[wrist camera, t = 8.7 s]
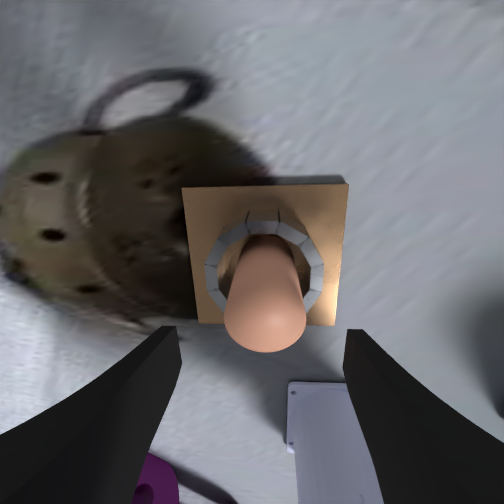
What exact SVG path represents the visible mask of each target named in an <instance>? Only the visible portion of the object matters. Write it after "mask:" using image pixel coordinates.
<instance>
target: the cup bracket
mask: <svg viewBox="0 0 504 504" xmlns="http://www.w3.org/2000/svg"><path fill="white" fill-rule="evenodd" d="M348 189H349V184H347V183H328V184H283V185H239V186H194V187H183V188H182V195H183V203H184V211H185V219H186V227H187V235H188V242H189V250H190V258H191V266H192V274H193V282H194V290H195V297H196V305H197V313H198V321H199V323H209V324H224V310H225V307H226V303H227V299H228V296H229V292H230V288H231V285H232V281H233V277H234V274H235V270H236V266H237V263H238V259H239V255H240V252H241V250H242V248H243V247H244V245H245V244H246V243H247V242H249V241H250V240H251V239H253V238H255V237H259V236H274V237H277V238H279V239H281V240H282V241H284V242H285V243H286V244H287V245H288V246H289V247H290V249H291V251H292V254H293V257H294V262H295V266H296V271H297V275H298V280H299V284H300V289H301V293H302V298H303V302H304V307H305V312H306V325H323V326H334V324H335V314H336V305H337V295H338V285H339V276H340V266H341V256H342V247H343V237H344V227H345V218H346V208H347V198H348Z"/></svg>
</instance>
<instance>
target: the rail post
mask: <svg viewBox="0 0 504 504" xmlns="http://www.w3.org/2000/svg"><path fill="white" fill-rule="evenodd" d="M224 324H225V327H226V329H227V332H228V333H229V335H230V336H231V337H232V338H233V339H234V340H235V341H236V342H237V343H238V344H240V345H241V346H243V347H245V348H247V349H250V350H253V351H257V352H275V351H280V350H282V349H285V348H287V347H289V346H291V345H292V344H293V343H295V342H296V341H297V340H298V339H299V338H300V336H301V335H302V333H303V331H304V329H305V326H306V312H305V307H304V302H303V298H302V293H301V289H300V284H299V280H298V275H297V271H296V266H295V262H294V257H293V254H292V251H291V249H290V247H289V246H288V245H287V244H286V243H285V242H284V241H282V240H281V239H279V238H277V237H274V236H259V237H255V238H253V239H251V240H250V241H249V242H247V243H246V244H245V245H244V247H243V248H242V250H241V252H240V255H239V259H238V263H237V266H236V270H235V274H234V277H233V281H232V285H231V288H230V292H229V296H228V299H227V303H226V307H225V310H224Z"/></svg>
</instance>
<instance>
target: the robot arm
mask: <svg viewBox="0 0 504 504" xmlns="http://www.w3.org/2000/svg"><path fill="white" fill-rule="evenodd" d="M181 365H182V359H181V353H180V347H179V342H178V336H177V330H176V326H161V327H160V328H159V329H158V330H156V331H155V332H154V333H153V334H152V335H150V336H149V337H148V338H147V339H146V340H144V341H143V342H142V343H141V344H140V345H138V346H137V347H136V348H135V349H133V350H132V351H131V352H130V353H129V354H127V355H126V356H125V357H124V358H122V359H121V360H120V361H118V362H117V363H116V364H115V365H113V366H112V367H111V368H109V369H108V370H107V371H105V372H104V373H103V374H101V375H100V376H99V377H97V378H96V379H94V380H93V381H92V382H90V383H89V384H87V385H86V386H84V387H83V388H81V389H80V390H78V391H77V392H75V393H73V394H72V395H70V396H69V397H67V398H66V399H64V400H62V401H61V402H59V403H57V404H55V405H54V406H52V407H50V408H49V409H47V410H45V411H43V412H42V413H40V414H38V415H37V416H35V417H33V418H31V419H29V420H28V421H26V422H24V423H22V424H20V425H18V426H16V427H14V428H13V429H11V430H9V431H7V432H5V433H3V434H1V435H0V504H131V502H132V499H133V496H134V492H135V489H136V486H137V483H138V480H139V477H140V474H141V471H142V468H143V465H144V462H145V459H146V456H147V453H148V451H149V448H150V445H151V443H152V440H153V438H154V436H155V433H156V431H157V429H158V426H159V424H160V422H161V419H162V417H163V415H164V412H165V410H166V408H167V405H168V403H169V401H170V398H171V396H172V394H173V391H174V389H175V386H176V383H177V379H178V376H179V373H180V369H181ZM343 372H344V376H345V381H346V383H319V382H290V383H289V384H288V407H287V443H286V448H287V451H288V452H289V453H295V464H296V477H297V490H298V503H299V504H504V443H503V442H501V441H500V440H498V439H497V438H495V437H494V436H492V435H491V434H489V433H488V432H486V431H484V430H483V429H481V428H480V427H478V426H477V425H475V424H474V423H473V422H471V421H470V420H468V419H467V418H465V417H464V416H463V415H461V414H460V413H458V412H457V411H456V410H454V409H453V408H452V407H450V406H449V405H448V404H446V403H445V402H444V401H442V400H441V399H440V398H438V397H437V396H436V395H435V394H433V393H432V392H431V391H429V390H428V389H427V388H426V387H425V386H424V385H422V384H421V383H420V382H419V381H418V380H416V379H415V378H414V377H413V376H412V375H410V374H409V373H408V372H407V371H406V370H405V369H404V368H403V367H401V366H400V365H399V364H398V363H397V362H396V361H395V360H394V359H393V358H392V357H391V356H390V355H389V354H387V353H386V352H385V351H384V350H383V349H382V348H381V347H380V346H379V345H378V344H377V343H376V342H375V341H374V340H373V339H372V338H371V337H370V336H369V335H368V334H367V333H366V332H365V331H364V330H363V329H347V336H346V344H345V352H344V360H343Z"/></svg>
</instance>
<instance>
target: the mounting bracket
mask: <svg viewBox="0 0 504 504" xmlns="http://www.w3.org/2000/svg"><path fill="white" fill-rule="evenodd" d="M131 504H179V490H178V483H177V479H176V476H175V473H174V471H173V469H172V467H171V466H170V464H169V463H168V462H166V461H164V460H162V459H160V458H158V457H156V456H154V455H152V454H150V453H147V456H146V459H145V462H144V465H143V468H142V471H141V474H140V477H139V480H138V483H137V486H136V489H135V492H134V496H133V499H132V502H131Z"/></svg>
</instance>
